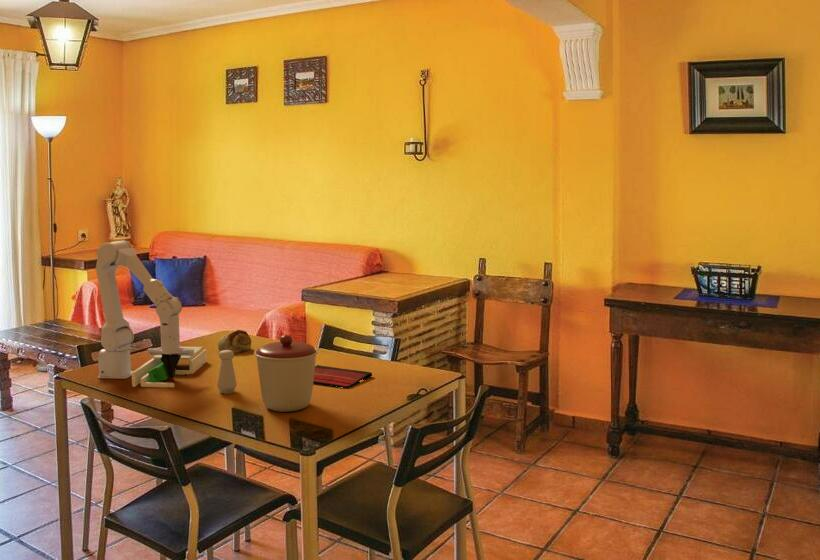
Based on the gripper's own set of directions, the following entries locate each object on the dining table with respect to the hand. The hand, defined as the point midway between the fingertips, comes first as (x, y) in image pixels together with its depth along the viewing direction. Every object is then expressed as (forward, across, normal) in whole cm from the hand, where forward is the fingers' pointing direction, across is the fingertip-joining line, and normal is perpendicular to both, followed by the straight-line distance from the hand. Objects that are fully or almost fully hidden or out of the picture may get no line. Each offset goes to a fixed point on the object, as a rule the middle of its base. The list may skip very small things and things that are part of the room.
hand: (171, 377), depth 252 cm
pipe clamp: (+1, -2, 0) cm, 3 cm away
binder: (+2, +51, +5) cm, 51 cm away
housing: (+1, -3, +8) cm, 8 cm away
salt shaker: (+1, +21, -12) cm, 24 cm away
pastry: (+1, +9, +43) cm, 44 cm away
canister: (+1, +42, -25) cm, 49 cm away
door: (-4, -3, +15) cm, 16 cm away
